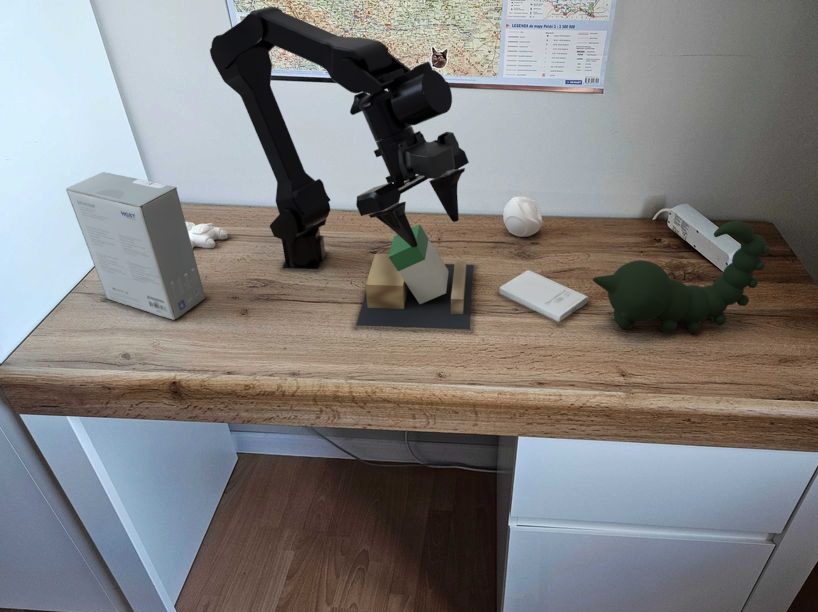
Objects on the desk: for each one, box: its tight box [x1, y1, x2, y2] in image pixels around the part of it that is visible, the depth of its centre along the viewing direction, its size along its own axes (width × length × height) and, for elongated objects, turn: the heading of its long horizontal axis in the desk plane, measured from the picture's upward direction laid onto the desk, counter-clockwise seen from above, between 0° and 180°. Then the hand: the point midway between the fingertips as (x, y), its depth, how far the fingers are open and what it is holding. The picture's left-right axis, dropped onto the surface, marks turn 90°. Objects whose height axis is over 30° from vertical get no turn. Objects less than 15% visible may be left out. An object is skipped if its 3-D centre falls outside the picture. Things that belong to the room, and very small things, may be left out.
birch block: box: [365, 253, 408, 309], centre depth 112 cm, size 6×10×4 cm, turn 177°
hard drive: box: [498, 269, 589, 323], centre depth 112 cm, size 2×8×12 cm
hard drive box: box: [65, 171, 206, 321], centre depth 106 cm, size 16×8×20 cm, turn 65°
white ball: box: [502, 195, 544, 238], centre depth 128 cm, size 8×8×8 cm
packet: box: [388, 223, 449, 304], centre depth 110 cm, size 9×7×11 cm
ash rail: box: [451, 260, 467, 315], centre depth 112 cm, size 2×12×3 cm, turn 177°
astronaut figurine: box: [185, 221, 229, 250], centre depth 128 cm, size 9×12×3 cm
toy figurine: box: [592, 220, 771, 334], centre depth 101 cm, size 9×19×25 cm
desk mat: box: [355, 263, 474, 331], centre depth 113 cm, size 18×20×1 cm
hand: (436, 233), depth 101 cm, fingers open, 9 cm apart
